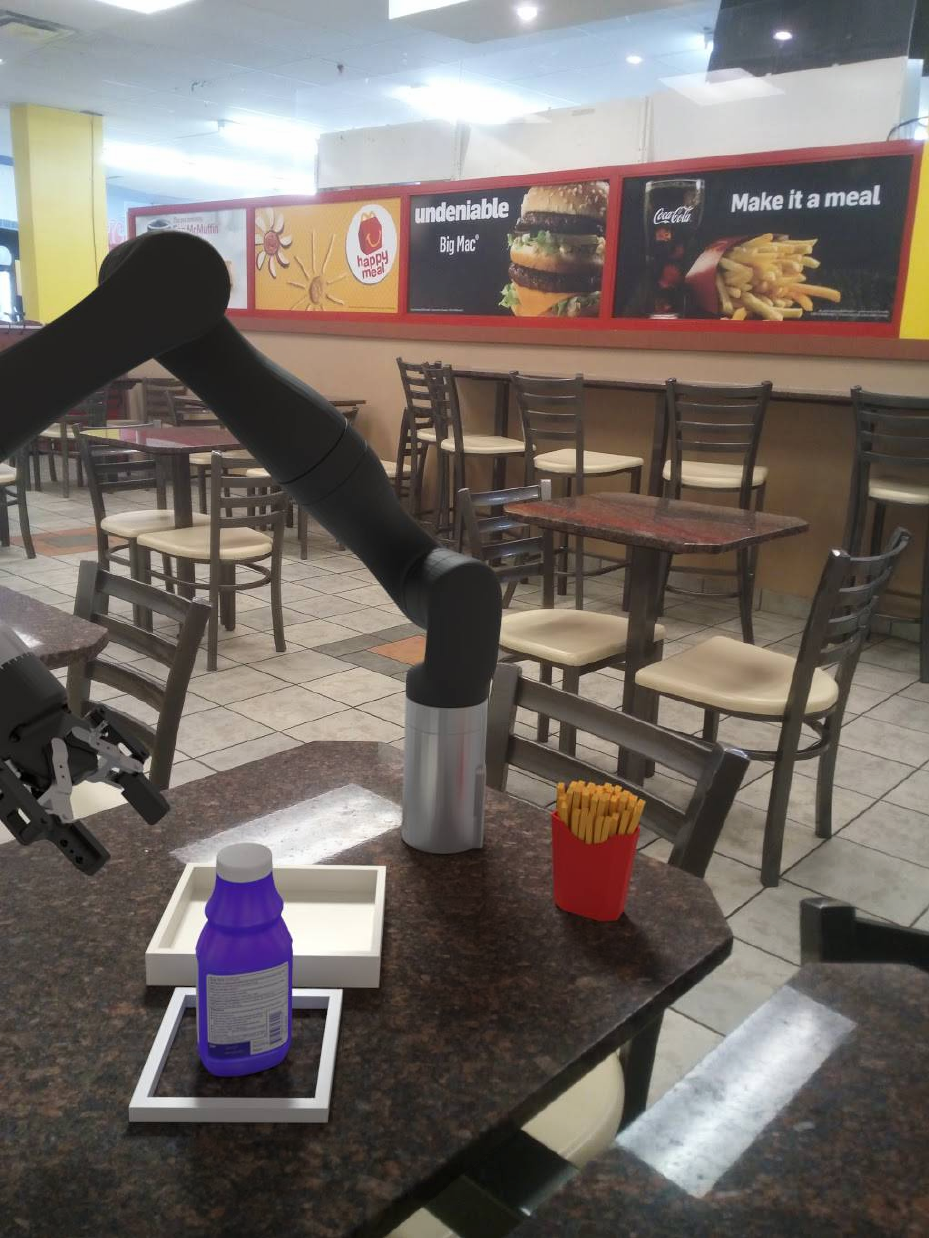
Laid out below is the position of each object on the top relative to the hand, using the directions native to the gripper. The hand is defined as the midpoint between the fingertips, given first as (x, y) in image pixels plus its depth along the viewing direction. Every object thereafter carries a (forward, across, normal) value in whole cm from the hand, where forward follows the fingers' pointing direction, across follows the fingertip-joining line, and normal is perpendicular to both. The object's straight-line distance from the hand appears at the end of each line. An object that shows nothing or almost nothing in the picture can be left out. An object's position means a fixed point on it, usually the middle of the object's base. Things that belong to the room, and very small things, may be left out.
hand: (133, 841), depth 76 cm
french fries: (+35, +30, -11) cm, 48 cm away
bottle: (+18, 0, +6) cm, 19 cm away
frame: (+18, 0, +6) cm, 19 cm away
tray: (+15, +16, +9) cm, 24 cm away
